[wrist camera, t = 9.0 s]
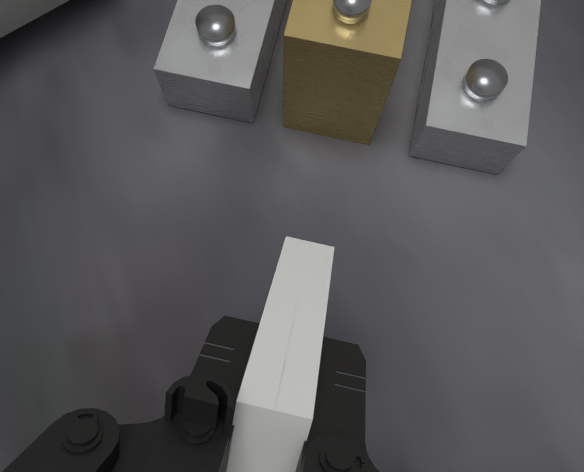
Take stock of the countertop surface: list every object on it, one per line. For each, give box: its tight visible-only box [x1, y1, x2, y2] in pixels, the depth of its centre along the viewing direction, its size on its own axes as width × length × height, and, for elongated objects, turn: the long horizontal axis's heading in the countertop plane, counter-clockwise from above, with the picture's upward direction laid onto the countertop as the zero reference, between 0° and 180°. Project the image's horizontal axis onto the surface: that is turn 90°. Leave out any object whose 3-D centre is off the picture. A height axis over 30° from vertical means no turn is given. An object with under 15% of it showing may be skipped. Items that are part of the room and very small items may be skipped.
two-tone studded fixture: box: [154, 0, 541, 174], centre depth 28 cm, size 14×19×5 cm
